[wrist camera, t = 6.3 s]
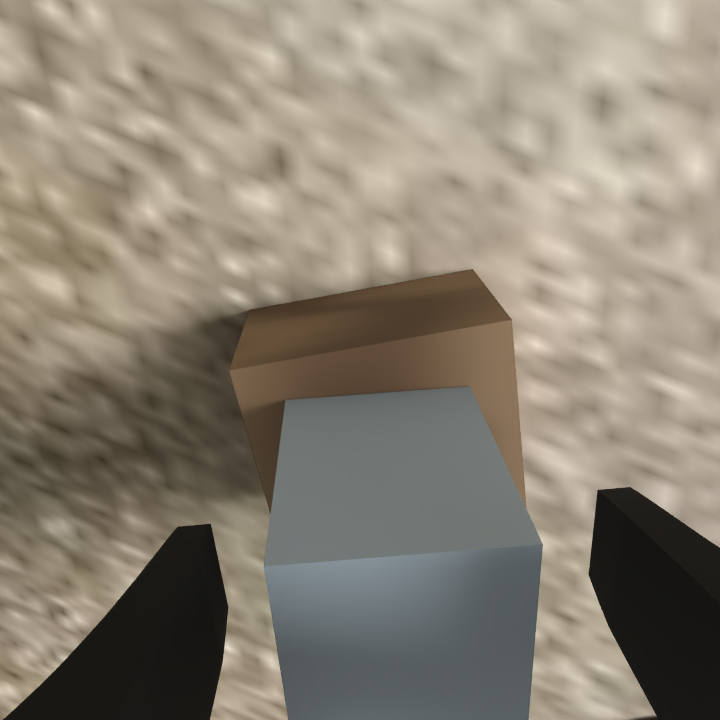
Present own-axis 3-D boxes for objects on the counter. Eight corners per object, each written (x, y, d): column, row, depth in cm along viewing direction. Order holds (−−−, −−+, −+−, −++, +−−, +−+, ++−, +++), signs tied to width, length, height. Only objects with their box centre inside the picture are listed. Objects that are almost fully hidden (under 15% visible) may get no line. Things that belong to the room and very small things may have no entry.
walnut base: (297, 488, 19) (291, 584, 16) (250, 307, 17) (228, 370, 13) (490, 455, 19) (529, 543, 15) (471, 267, 17) (511, 319, 13)
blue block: (303, 545, 15) (293, 748, 11) (285, 399, 13) (263, 566, 9) (467, 532, 15) (528, 728, 11) (469, 386, 13) (542, 544, 9)
